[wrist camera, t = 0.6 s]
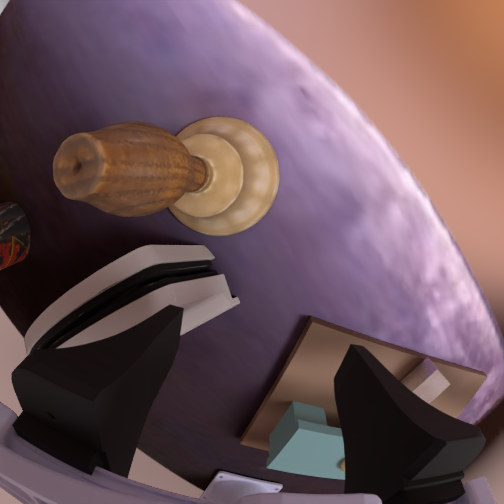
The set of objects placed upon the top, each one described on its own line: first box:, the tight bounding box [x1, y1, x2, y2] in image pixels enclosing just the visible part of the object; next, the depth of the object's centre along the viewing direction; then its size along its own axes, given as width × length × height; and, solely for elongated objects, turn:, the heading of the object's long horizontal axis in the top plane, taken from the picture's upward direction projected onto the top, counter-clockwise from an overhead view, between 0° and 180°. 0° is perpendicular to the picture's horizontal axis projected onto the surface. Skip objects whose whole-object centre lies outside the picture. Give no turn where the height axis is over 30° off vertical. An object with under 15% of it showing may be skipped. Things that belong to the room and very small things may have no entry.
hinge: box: [24, 245, 240, 355], centre depth 19 cm, size 17×5×10 cm, turn 122°
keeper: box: [267, 401, 345, 479], centre depth 22 cm, size 6×12×4 cm, turn 68°
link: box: [335, 357, 450, 428], centre depth 22 cm, size 12×4×2 cm, turn 138°
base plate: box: [240, 316, 487, 451], centre depth 24 cm, size 15×22×1 cm
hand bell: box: [53, 116, 280, 236], centre depth 12 cm, size 8×8×16 cm
